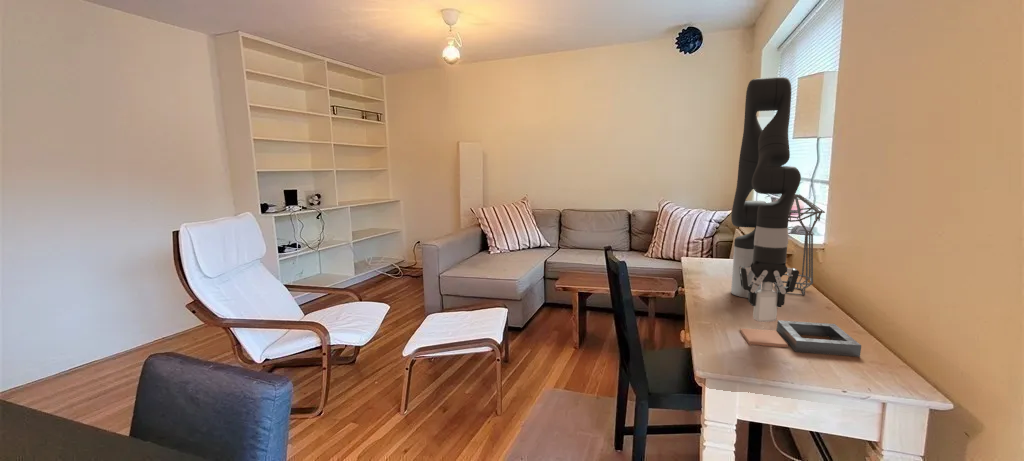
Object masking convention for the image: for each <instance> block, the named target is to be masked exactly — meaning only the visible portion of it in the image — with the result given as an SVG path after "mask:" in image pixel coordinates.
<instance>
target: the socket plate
mask: <svg viewBox="0 0 1024 461" xmlns="http://www.w3.org/2000/svg"><path fill="white" fill-rule="evenodd" d="M776 331H777V333H778V334H779V335H780V336H781V337H782V338H783V340H784V341H785V342H786V343H787V344H788V345H789V346H790V347H791V348H792V350H793V351H794V352H795V353H803V354H804V353H805V354H806V353H807V354H817V355H818V354H819V355H830V356H831V355H832V356H843V357H844V356H845V357H856V358H860V357H861V352H862V345H861V343H859V342H858V341H857V340H855V338H854V337H852V336H850V335H849V334H848V333H846V332H845V331H844V330H843V329H842V328H840V327H839V326H838V325H837V324H835V323H827V322H826V323H825V322H814V321H813V322H810V321H808V322H807V321H796V320H794V321H793V320H781V319H780V320H777V324H776ZM801 335H802V336H803V335H804V336H815V337H816V336H817V337H828V338H830V339H823V338H821V339H819V338H809V337H808V338H807V337H806V338H805V337H802V336H801Z"/></svg>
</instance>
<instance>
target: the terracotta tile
mask: <svg viewBox="0 0 1024 461" xmlns="http://www.w3.org/2000/svg"><path fill="white" fill-rule="evenodd" d="M739 329H740V330H739V332H740V333H741V335H742V336H743V338H744V339H745V341H746V342H747V344H748V345H751V346H753V345H754V346H765V347H778V348H779V347H780V348H788V345H789V344H788V343H787V342H786V340H785V339H784V338H783V337H782V336H781V335H780V334H779V332H778V331H777V330H769V329H754V328H739Z"/></svg>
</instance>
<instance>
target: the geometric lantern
mask: <svg viewBox="0 0 1024 461" xmlns="http://www.w3.org/2000/svg"><path fill="white" fill-rule="evenodd" d="M799 200H800V201H802V202H803V203H804V204H806V205H807V206H808V207H804V208H801V206H800V202H799ZM794 203H795V204H796V209H793V206H794ZM804 210H805V211H804ZM811 210H813V211H811ZM801 211H804V212H801ZM825 213H826V211H825V210H823V209H821V207H819V206H817V205H815V203H813V202H811V201H810V200H808V199H807V198H805V197H804V196H803V195H801V194H798V193H795V196H794V198H793V201H792V204H791V207H790V211H789V219H788V223H792V222H793V223H794V222H798V223H799V224H800V225H801V226H802V228H803V229H797V228H796V229H794V228H793V229H792V228H791V229H790V228H788V231H796V233H795V232H788V235H803V236H804V242H803V243H804V245H803V254H802V256H803V257H802V269H801V274H799V275H798V277H800V279H799V281H797V282H796V286H795V288H794V290H800V291H801V293H795V292H794V293H793V292H787V293H786V294H785V295H787V294H788V295H796V296H804V295H806V289H808V288H809V287H810V286H811V285H813V284H814V235H815V233H814V232H813V229H814V228H815V225H816V223H818V222H820V221H821V215H822V214H825ZM792 214H797V216H795V215H794V216H793V215H792ZM804 215H806V216H804ZM802 216H804V217H802ZM812 216H813V217H814V221H813V223H812V225H811V228H810V229H807V228H806V226H805V224H804V222H803V220H805V219H808V218H810V217H812ZM797 231H799V232H800V231H801V232H802V231H804V233H797ZM804 273H805V275H804ZM783 276H788V275H787V273H785V274H784V275H783ZM803 277H804V278H805V280H803V282H801V281H802V279H803ZM808 281H810V282H808ZM782 282H783V284H786V283H787V280H782ZM773 285H774V288H775V290H776V292H778V289H777V287H776V284H775V283H774V282H773Z"/></svg>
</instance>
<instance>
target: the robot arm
mask: <svg viewBox="0 0 1024 461" xmlns="http://www.w3.org/2000/svg"><path fill="white" fill-rule="evenodd" d="M744 104H745V105H744V118H743V119H744V122H743V133H742V140H741V146H740V152H739V158H738V159H739V160H738V168H737V170H738V171H737V179H736V180H737V181H736V189H735V194H734V199H733V203H732V208H731V218H730V220H731V224H732V225H733V226H735V227H738V228H753V230H752V231H750V232H749V233H747V234H743V235H740V236H736V238H734V241H733V242H734V243H733V244H734V245H733V260H732V273H731V274H732V275H731V288H730V292H731V294H732V295H734V296H737V297H740V298H746V299H747V302H748V303H749V304H750V305H751V306H752V307H754V306H755V303H756V292H757V291H759V290H761V289H762V282H768V281H769V282H774V283H775V284H776V288H777V290H778V292H777V291H776V292H777V293H778V304H777V308H782V306H784V305H785V298H786V295H787V294H786V293H793V292H794V291H795V289H794V288H795V287H796V286H797V284H796V282H798V279H799V276H798V275H800V270H798V269H797V268H795V267H787V254H788V253H787V252H788V244H789V234H788V233H789V230H788V229H789V222H788V219H789V220H790V218H789V211H790V207H791V204H792V201H793V198H794V196H795V194H797V191H798V189H799V186H800V183H801V179H802V176H801V172H800V170H799V169H798V168H797V167H796V166H791V165H789V166H788V165H786V164H787V163H788V162H789V160H790V156H791V155H790V154H791V153H790V144H789V143H790V142H789V127H790V118H791V105H792V83H791V81H790V79H789V78H788V77H787V76H786V77H785V76H775V77H762V78H760V77H759V78H752V79H751V80H750V81H749V82H748V85H747V88H746V92H745V103H744ZM770 111H774V112H775V111H776V113H775V114H774V116H773V117H772V119H771V120H770V121H769V122H768V123H767V124H766V125H765V126H764V128H763V129H762V127H761V124H760V123H759V120H758V117H757V116H758V115H757V113H758V112H770ZM753 190H754V191H755V193H757V194H761V195H762V194H763V195H781V196H780V197H779V198H778V199H777V200H775V201H772V202H767V201H764V200H747V199H748V196H749V195H750V193H751V192H752V191H753ZM784 274H787V275H786V276H788V277H787V280H786V281H787V283H783V282H782V281H783V279H782V277H783V276H785V275H784ZM774 283H773V284H774ZM775 284H774V285H775ZM784 284H785V286H784Z"/></svg>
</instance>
